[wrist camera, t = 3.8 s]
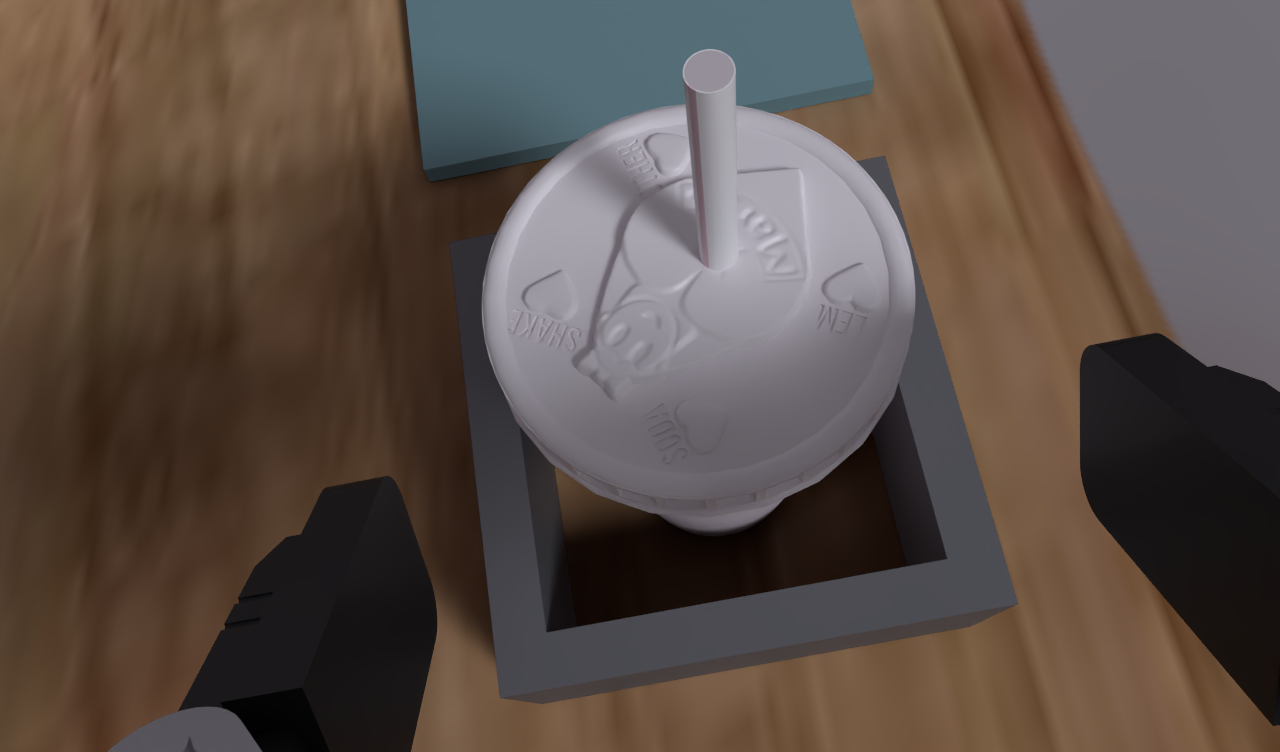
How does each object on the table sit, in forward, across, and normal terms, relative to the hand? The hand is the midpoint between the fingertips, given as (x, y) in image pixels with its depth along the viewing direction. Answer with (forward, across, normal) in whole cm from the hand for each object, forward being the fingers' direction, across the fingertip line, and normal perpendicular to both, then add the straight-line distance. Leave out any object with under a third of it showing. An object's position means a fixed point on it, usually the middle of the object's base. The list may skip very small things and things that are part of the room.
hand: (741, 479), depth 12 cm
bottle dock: (+10, 0, +6) cm, 12 cm away
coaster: (+21, 0, -5) cm, 21 cm away
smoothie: (+10, 0, +6) cm, 12 cm away
